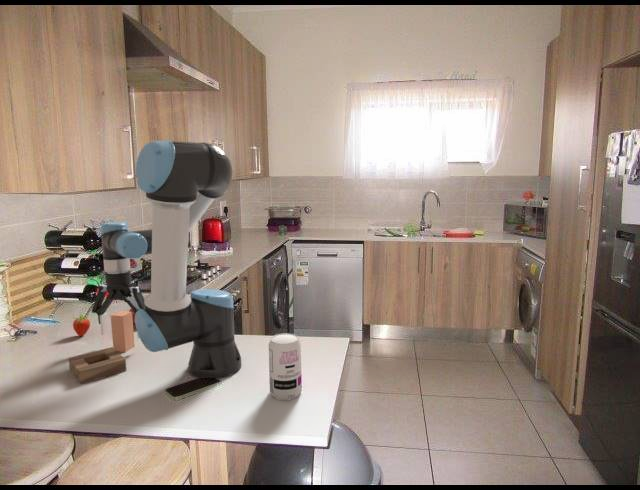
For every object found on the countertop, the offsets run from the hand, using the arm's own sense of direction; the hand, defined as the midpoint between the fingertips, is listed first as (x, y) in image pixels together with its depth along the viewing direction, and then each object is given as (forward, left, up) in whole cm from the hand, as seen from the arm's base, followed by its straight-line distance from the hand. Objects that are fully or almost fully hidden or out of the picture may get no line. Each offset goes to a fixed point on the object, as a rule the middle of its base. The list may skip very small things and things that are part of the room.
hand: (123, 335), depth 142 cm
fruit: (+22, +7, -5) cm, 24 cm away
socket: (-11, +11, -5) cm, 16 cm away
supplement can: (-59, -21, -5) cm, 63 cm away
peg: (0, 0, -5) cm, 5 cm away
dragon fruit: (+19, -13, -5) cm, 23 cm away
